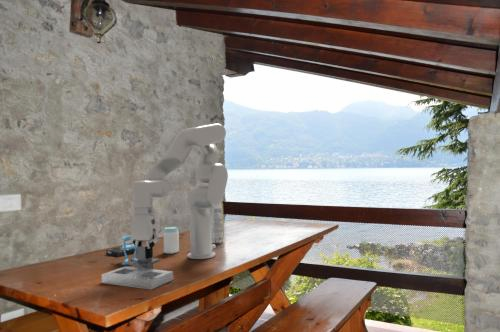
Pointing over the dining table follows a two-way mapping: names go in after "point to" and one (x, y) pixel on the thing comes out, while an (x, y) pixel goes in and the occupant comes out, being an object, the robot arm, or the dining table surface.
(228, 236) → the dining table surface
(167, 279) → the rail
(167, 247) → the can
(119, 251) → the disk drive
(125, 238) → the chair
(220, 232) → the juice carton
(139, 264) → the flanged block
